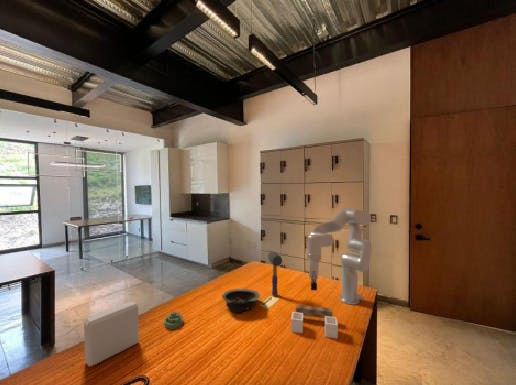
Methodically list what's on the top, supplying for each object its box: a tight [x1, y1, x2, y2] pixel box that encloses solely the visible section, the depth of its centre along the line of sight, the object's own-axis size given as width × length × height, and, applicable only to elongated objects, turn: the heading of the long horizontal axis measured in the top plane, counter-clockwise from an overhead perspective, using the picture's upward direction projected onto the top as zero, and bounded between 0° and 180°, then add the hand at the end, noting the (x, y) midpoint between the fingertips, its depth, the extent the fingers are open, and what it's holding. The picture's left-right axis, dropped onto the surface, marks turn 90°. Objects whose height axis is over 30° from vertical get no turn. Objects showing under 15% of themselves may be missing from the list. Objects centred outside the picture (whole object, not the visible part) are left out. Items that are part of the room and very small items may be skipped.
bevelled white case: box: [83, 300, 140, 367], centre depth 109 cm, size 21×8×20 cm, turn 141°
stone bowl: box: [221, 288, 261, 313], centre depth 150 cm, size 25×25×9 cm
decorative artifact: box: [163, 311, 184, 330], centre depth 131 cm, size 10×7×10 cm
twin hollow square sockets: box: [290, 311, 339, 340], centre depth 124 cm, size 24×7×7 cm, turn 77°
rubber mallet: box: [267, 250, 283, 297], centre depth 163 cm, size 12×8×30 cm, turn 14°
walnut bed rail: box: [295, 304, 333, 319], centre depth 134 cm, size 20×4×7 cm, turn 77°
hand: (313, 286), depth 133 cm, fingers open, 9 cm apart
